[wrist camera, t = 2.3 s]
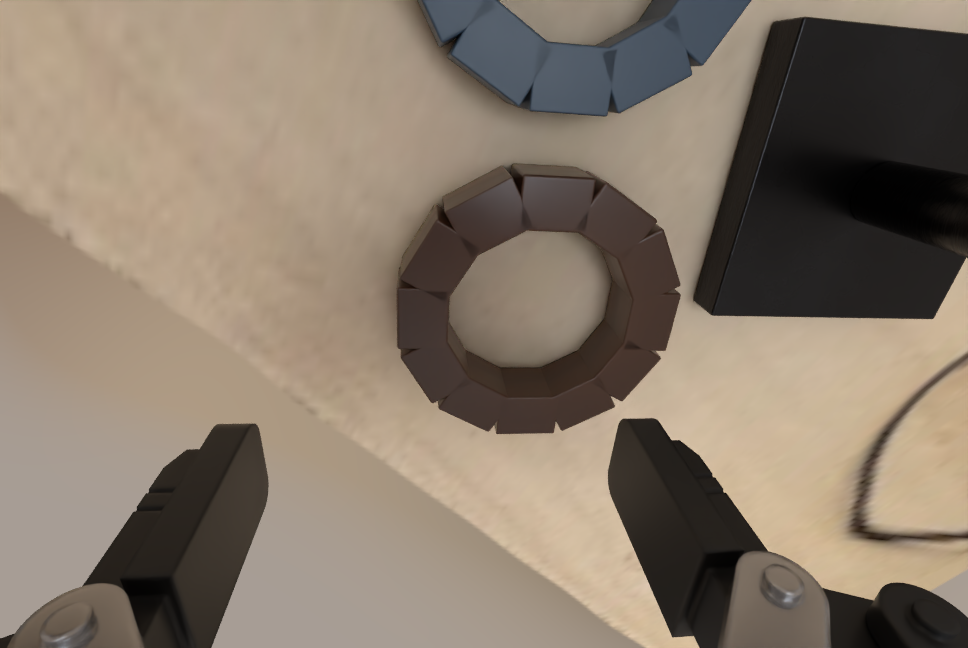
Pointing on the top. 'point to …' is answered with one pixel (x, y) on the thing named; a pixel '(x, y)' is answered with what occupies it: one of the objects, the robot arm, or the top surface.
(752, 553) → the robot arm
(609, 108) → the slate ring
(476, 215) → the walnut ring
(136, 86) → the top surface
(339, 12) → the top surface
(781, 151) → the stand
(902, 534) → the top surface
